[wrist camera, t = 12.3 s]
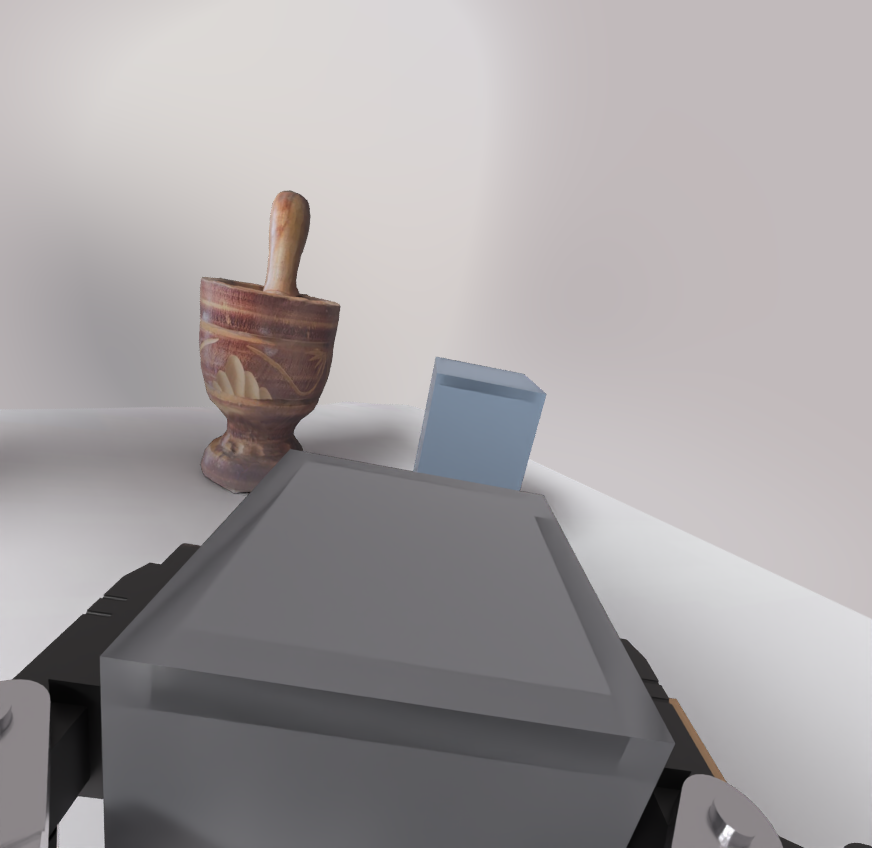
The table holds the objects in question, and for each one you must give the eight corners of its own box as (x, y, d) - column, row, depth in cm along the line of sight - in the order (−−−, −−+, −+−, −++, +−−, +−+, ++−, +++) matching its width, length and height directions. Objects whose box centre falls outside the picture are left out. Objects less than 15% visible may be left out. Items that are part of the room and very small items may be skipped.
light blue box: (401, 551, 26) (436, 372, 23) (406, 504, 32) (436, 356, 29) (498, 567, 27) (546, 394, 24) (486, 518, 33) (524, 373, 30)
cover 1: (113, 1170, 7) (100, 655, 4) (253, 788, 13) (290, 449, 10) (459, 1199, 8) (676, 744, 5) (449, 815, 14) (543, 494, 10)
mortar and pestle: (183, 435, 36) (193, 165, 30) (290, 434, 41) (315, 201, 35) (199, 503, 27) (217, 138, 22) (334, 491, 32) (377, 191, 26)
